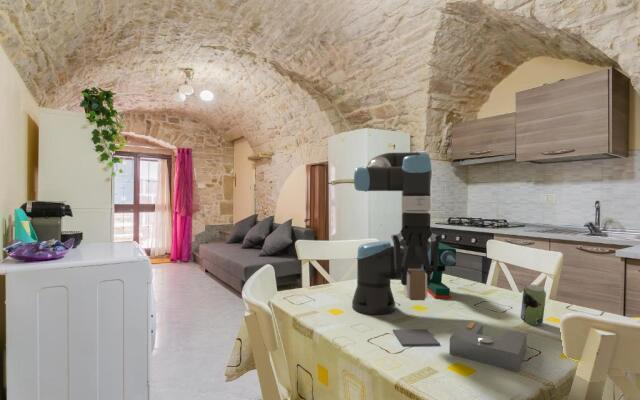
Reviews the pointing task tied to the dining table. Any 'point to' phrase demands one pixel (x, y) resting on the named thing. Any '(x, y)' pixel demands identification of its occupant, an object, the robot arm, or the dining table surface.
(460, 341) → the peg insertion board
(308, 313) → the dining table surface
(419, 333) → the mat
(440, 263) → the power tool
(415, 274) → the wooden block
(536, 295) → the beverage can
